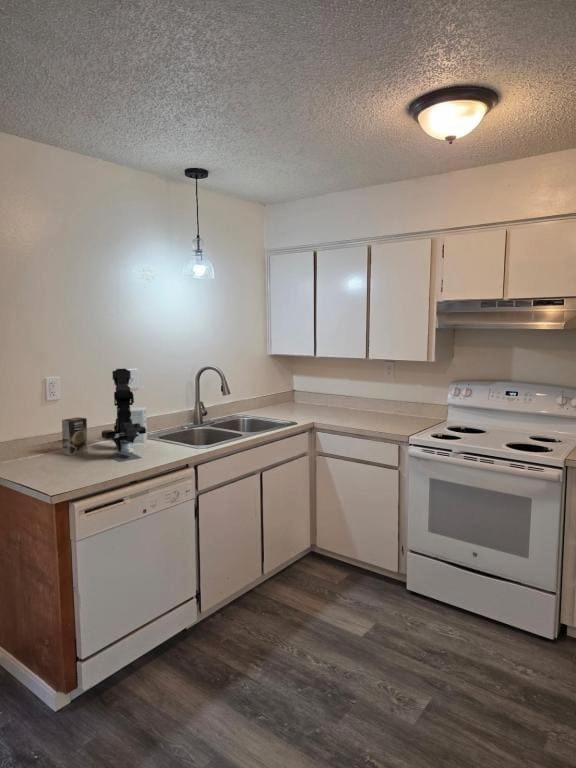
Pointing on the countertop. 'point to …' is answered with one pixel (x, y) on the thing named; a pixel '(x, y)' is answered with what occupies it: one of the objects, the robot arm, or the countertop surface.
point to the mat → (124, 457)
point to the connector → (126, 447)
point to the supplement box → (139, 421)
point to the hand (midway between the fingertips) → (124, 450)
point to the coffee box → (74, 436)
